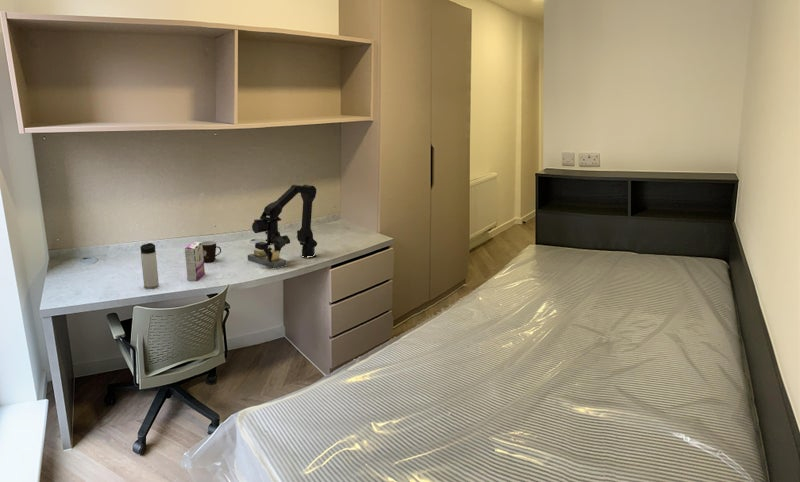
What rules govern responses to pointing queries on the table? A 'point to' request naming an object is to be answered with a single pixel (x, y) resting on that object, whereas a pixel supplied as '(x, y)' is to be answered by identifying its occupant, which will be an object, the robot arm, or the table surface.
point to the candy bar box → (194, 261)
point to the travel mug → (149, 266)
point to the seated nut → (259, 253)
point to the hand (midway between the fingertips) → (273, 259)
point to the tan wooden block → (274, 255)
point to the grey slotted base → (266, 261)
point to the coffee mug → (209, 251)
